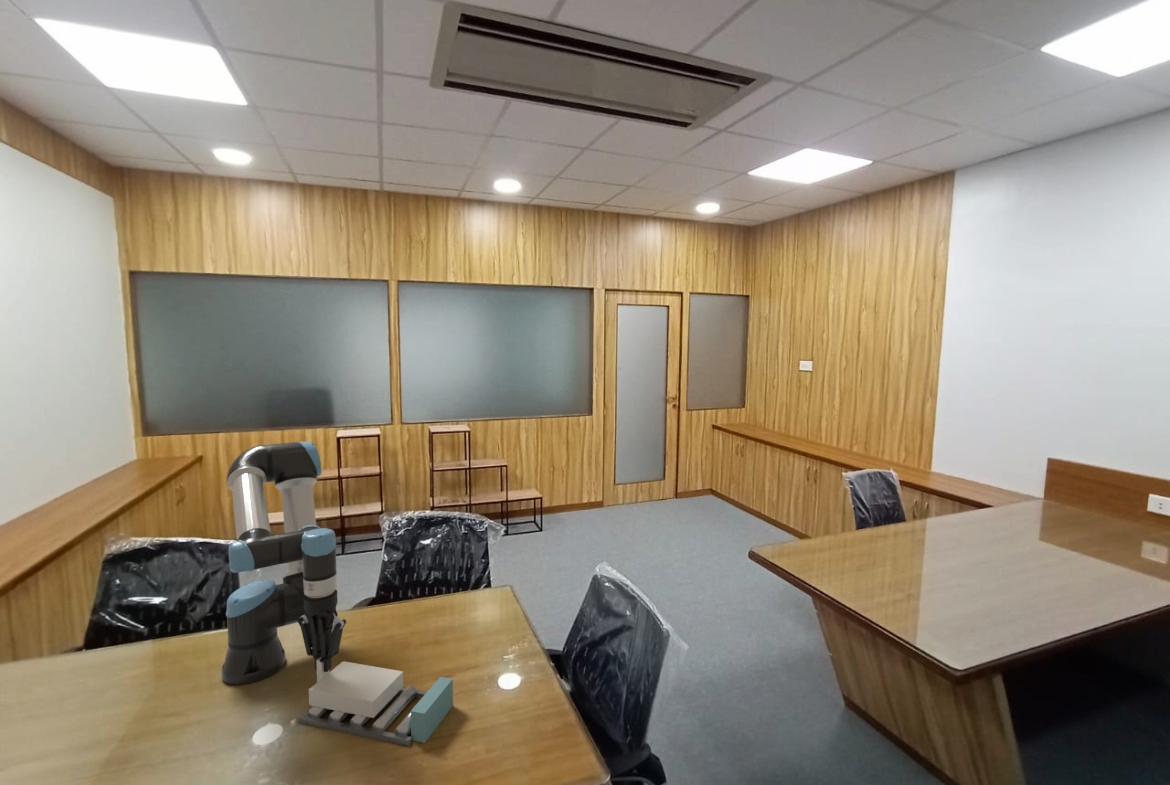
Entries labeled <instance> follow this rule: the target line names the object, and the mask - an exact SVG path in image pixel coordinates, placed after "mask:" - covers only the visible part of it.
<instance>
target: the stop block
mask: <svg viewBox="0 0 1170 785" xmlns="http://www.w3.org/2000/svg"><path fill="white" fill-rule="evenodd" d="M453 682H454V681H453V678H449V677H443V676H439V677H438V679H437V680H436V681H435V682H434V683H433V684H432V685H431V687H430V688H429V689H428V690H427V693H426V694H425V695H424V696H423V697H422V698H420V699H419V700H418V702H417V703H416V704H415V705H414V706H413V707H412V709H411V710H410V711H411V731H410V734H411V735H410V737H412V742H413V741H414V742H417V743H418V742H419V743H424V744H425V743H426V742H427V741H428V740H429V738H430V737H431V735H432V734H433V733H434V732H435V731H436V729H437V728H438V726H439V725H440V724H441V722H443V719H444V718H445V717H446V716H447V714H448V713H449V711H450V710H451V708H453V707H454V693H453V692H454V685H453Z"/></svg>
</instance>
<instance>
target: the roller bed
mask: <svg viewBox="0 0 1170 785" xmlns="http://www.w3.org/2000/svg"><path fill="white" fill-rule="evenodd" d="M427 691H428V690H427ZM427 691H425V690H421V689H417V688H416V687H415V686H414V685H407V687H404V686H403V687H402V688H401V689H400V691H399V692H398V693H397V694H396V695H399V696H397V697H396V698H395V700H394V701H393V702H392V703H391V704H390V705H389V707H388V708H386V710H385V711H384V712H382V714H381V715H380V716H379V717H378V718H377V719H376V720H375V721H374V722H373V724H372V725H371V728H369V727H364V725H365V724H366V723H367V722H368V721H369V720H370V719H372V718H371V717H366V716H361V715H356V714H354V716H352V718H351V719H350V721H349V723H344V722H342V721H343V720H344V719H345V718H346V717H347V716H348V715H349V714H350V713H346V712H341V711H336V710H333V711H331V713H330V714H329V715H328V717H327V719H326V718H321V717H322V716H323V715H324V714H325V713H326V712H327V711H329V709H326V708H321V707H316V706H311V708H309V710H307V712H306V715H305V714H300V716H299V717H298V718H297V723H300V724H303V725H308V726H312V727H318V728H322V729H327V730H332V731H336V732H342V733H346V734H351V735H355V736H360V737H365V738H369V739H373V740H379V741H385V742H387V743H388V742H389V743H394V744H398V745H404V746H408V747H409V746H411V744H412V743H413V740H412V737H411V736H408V735H409V734H411V710H410V711H409V713H408V714H406V716H405V717H404V718H403V719H402V721H401V722H400V723H399V724H398V725H397V726H396V728H395V730H394V732H388V731H386V730H387V729H388V728H389V726H390V725H391V724H392V723H393V722H394V721H395V719H396V718H398V716H399V715H400V714H401V713H402V711H403V710H405V708H406V707H407V706H408V705H409V703H411V701H412V700H413V699H414V698H418V699H421V698H422V697H423V696H424V695H425V694H426V693H427Z"/></svg>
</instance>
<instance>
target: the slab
mask: <svg viewBox="0 0 1170 785" xmlns="http://www.w3.org/2000/svg"><path fill="white" fill-rule="evenodd" d="M402 687H404V671H401V670H396V669H391V668H384V667H379V666H374V665H368V664H360V663H356V662H349V661H344V660H343V661H341V662H340V663H339V664H338V665H337V666H335V667H334V668H333V669H332V670H331V671H330V672H329V673H328V674H327V675H326V676H324V677H323V678H322V679H321V680H320V681H318V682H317V681H316V683H315V684H314V685H312V686H311V687H310V688H308V706H311V707H313V706H316V707H321V708H326V709H328V710H333V711H334V710H336V711H341V712H346V713H349V714H350V715H351V714H353V715H361V716H366V717H371V718H370V719H374V718H375V717H376V716H377V715H378V714H379V713H380V712H381V711H382V710H383V709H384V708H385V707H386V706H387V705H388V703H389V702H391V701H392V699H393V698H394V697H395V696H396V695H398V694H397V693H398V692H399V691H400V689H401V688H402Z"/></svg>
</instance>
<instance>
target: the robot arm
mask: <svg viewBox="0 0 1170 785" xmlns="http://www.w3.org/2000/svg"><path fill="white" fill-rule="evenodd" d="M318 450H319V449H318V448H317V446H316V445H315V443H313V442H311V441H293V442H284V443H282V442H281V443H271V444H259V445H255V446H253V447H252V446H251V447H250V448H248V449H246V450H245V451H243V452H242V453H240V454H239V455H238V456H237V457H236V458H235V459H234V461H233V462H232V463H231V465H230V467H229V468H228V471H227V476H226V482H227V484H226V485H227V487H228V489H229V490H231V491H232V499H233V500H232V501H233V513H234V514H233V515H234V524H235V525H234V526H235V534H236V541H232V542H230V543H229V545H228V561H229V562H228V563H229V570H230V572H232V573H234V574H235V573H242V572H252V571H255V570H260V569H263V568H268V567H273V566H278V565H282V564H287V571H286V572H285V573H284V575H283V576H282V583H280V584H276V582H275V581H273V580H271V579H266V580H265V579H263V580H258V581H253V582H251V583H248V584H245V585H242V586H241V587H239V588H238V589H236V590H235V591H233V592H231V594H230V595H229V596H228V598H227V601H226V612H225V617H227V618H226V619H227V620H226V622H227V648H228V649H227V651H226V654H225V659H224V663H222V664H223V665H222V667H221V679H223V680H222V681H223V682H225V683H226V684H228V683H229V684H228V685H234V686H235V685H239V686H240V685H246V684H252V683H255V682H259V681H261V680H264V679H267V678H268V677H270V676H273V675H274V674H275V673H277V672H278V671H280V670H281V668H282V667H284V665H285V663H286V651H285V649H284V647H283V645H282V642H281V640H280V637H279V636H278V628H281V627H284V626H289V625H293V624H297V623H298V626H300V630H301V634H302V639H303V643H304V647H305V650H306V655H307V656H308V657H310V656H311V657H312V658H313V659H314V669H315V671H316V683H317V682H318V681H320V680H321V679H322V678H323V677H324V676H326V675H327V674H328V673H329V672H331V671H330V670H331V669H332V659H333V658H334V657H336V656H337V655H338V654H339V651H340V647H341V643H342V642H341V641H342V636H343V630H344V627H345V625H346V624H347V620H346V619H344V618H343V619H341V618H340V617H339V616H338V611H337V605H338V601H339V600H338V590H337V589H338V576H337V540H336V533H335V531H334V530H333V529H332V528H331V529H330V528H327V527H325V528H324V527H323V528H321V527H320V526H318V525H317V519H316V509H315V500H314V491H313V490H314V489H313V487H314V485H315V484H316V483H317V482H318V477H320V476H321V475H322V469H323V468H322V462H321V457H320V453H319V451H318ZM272 482H274V487H275V489H277V490H279V491H280V493H281V504H282V505H281V506H282V515H283V526H284V528H283V529H284V533H277V534H272V533H271V532H272V531H271V525H270V520H269V519H270V518H269V513H268V506H267V501H266V495H265V494H266V493H265V489H264V488H265V487H264V486H265V484H266V483H272ZM283 664H284V665H283Z"/></svg>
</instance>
